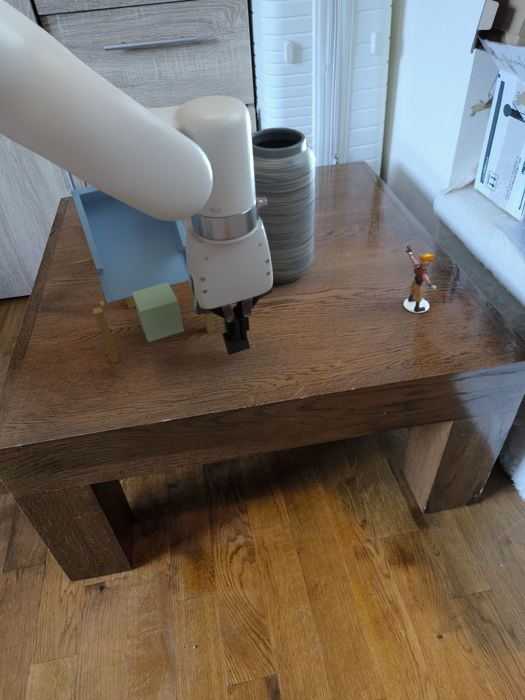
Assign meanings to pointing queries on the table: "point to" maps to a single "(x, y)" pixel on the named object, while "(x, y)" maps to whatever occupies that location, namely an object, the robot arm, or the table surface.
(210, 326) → the tan bar frame
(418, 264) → the action figure
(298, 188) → the vase
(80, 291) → the table surface
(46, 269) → the table surface
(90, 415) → the table surface
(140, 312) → the block
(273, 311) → the table surface
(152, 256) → the light blue walled tray
